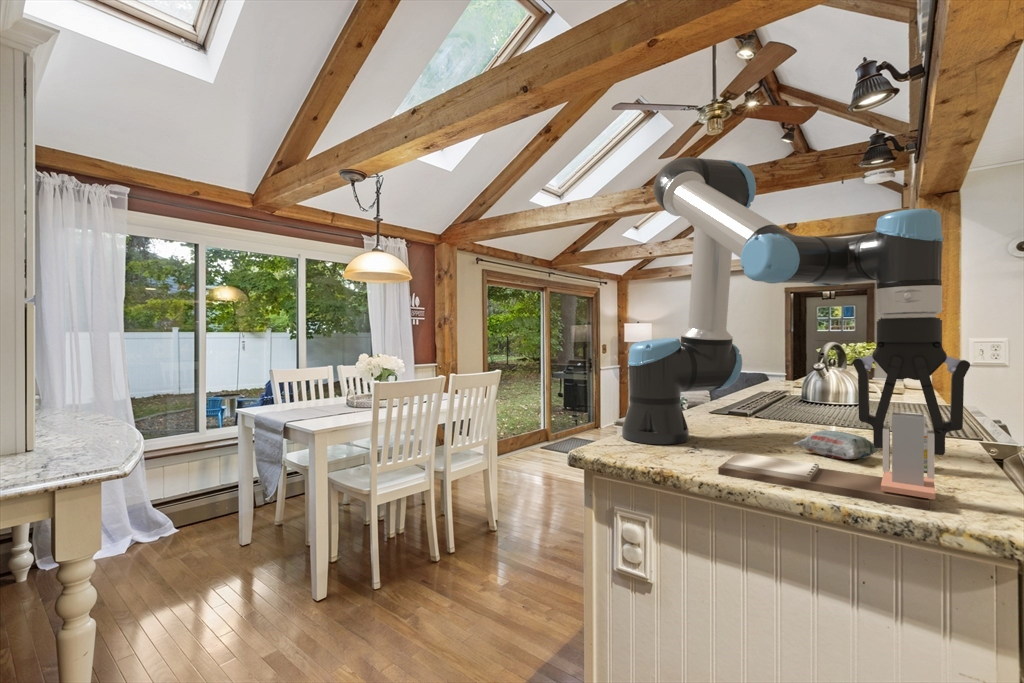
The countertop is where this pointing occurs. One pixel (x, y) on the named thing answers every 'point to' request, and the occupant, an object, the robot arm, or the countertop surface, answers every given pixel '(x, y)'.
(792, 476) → the board
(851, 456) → the packaged food
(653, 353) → the robot arm
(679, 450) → the countertop surface
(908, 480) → the grey upright slab piece
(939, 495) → the countertop surface
